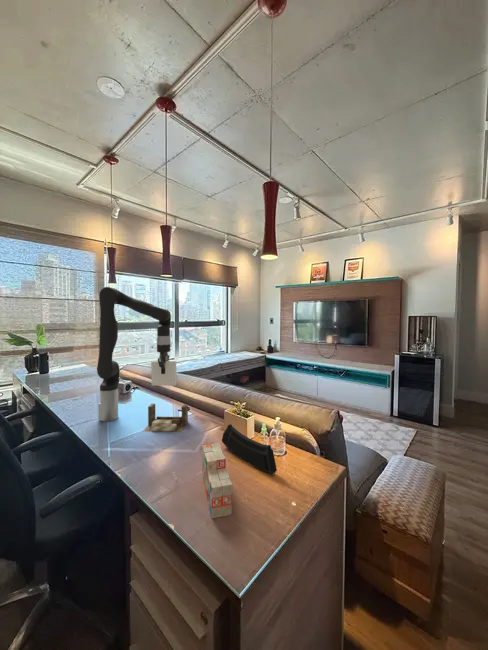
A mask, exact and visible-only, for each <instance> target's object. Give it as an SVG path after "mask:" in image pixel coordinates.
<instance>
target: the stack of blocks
mask: <svg viewBox="0 0 488 650" xmlns="http://www.w3.org/2000/svg"><path fill="white" fill-rule="evenodd" d="M201 451H202V453H201V454H202V456H201V462H202V482H203V486H204V491H205V493H206V494H205V495H206V498H207V502H208V504H207V505H208V510H209V513H210V517H211V518H210V519H215V518H220V517H226V516H231V515H232V513H233V511H232V509H233V508H232V506H233V505H232V504H233V501H232V500H233V496H232V495H233V483H232V480H231V478H230V476H229V473H228V470H227V468H226V467H227V464H226V456H225V454H224V452H223V451H222V448H221V444H220V443H219V442H215V443H208V444H202V445H201Z"/></svg>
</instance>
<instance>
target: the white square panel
mask: <svg viewBox="0 0 488 650" xmlns="http://www.w3.org/2000/svg"><path fill="white" fill-rule="evenodd" d="M163 362H164V361H163ZM150 363H151V364H150V365H151V370H150V371H151V376H150V378H151V380H150V381H151V386H162V387H163V386H165V387H167V386H168V387H169V386H171V387H172V386H173V387H175V386H177V360H169V361H166V363H165V374H161V367H159V363H158V360H152V361H151V362H150Z"/></svg>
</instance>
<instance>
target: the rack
mask: <svg viewBox="0 0 488 650" xmlns="http://www.w3.org/2000/svg"><path fill="white" fill-rule="evenodd" d="M188 405H189V404H188V403H184V404H183V405H182V406H181V416H156V403H151V404H149V405H148V406H147V416H148V417H147V421H148V422H147V424H148V425H147V426H146V427H145V428H144V429H143V430H142V432H150V433H151V432H155V433H157V432H161V433H162V432H164V433H182V432H183V431H184V429H185V427H186V426H187V425H188V423H189V414H188V413H189V409H188V408H189V407H188ZM154 420H172V424H177V428H176V429H175V431H151V426H152V422H153V421H154Z"/></svg>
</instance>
